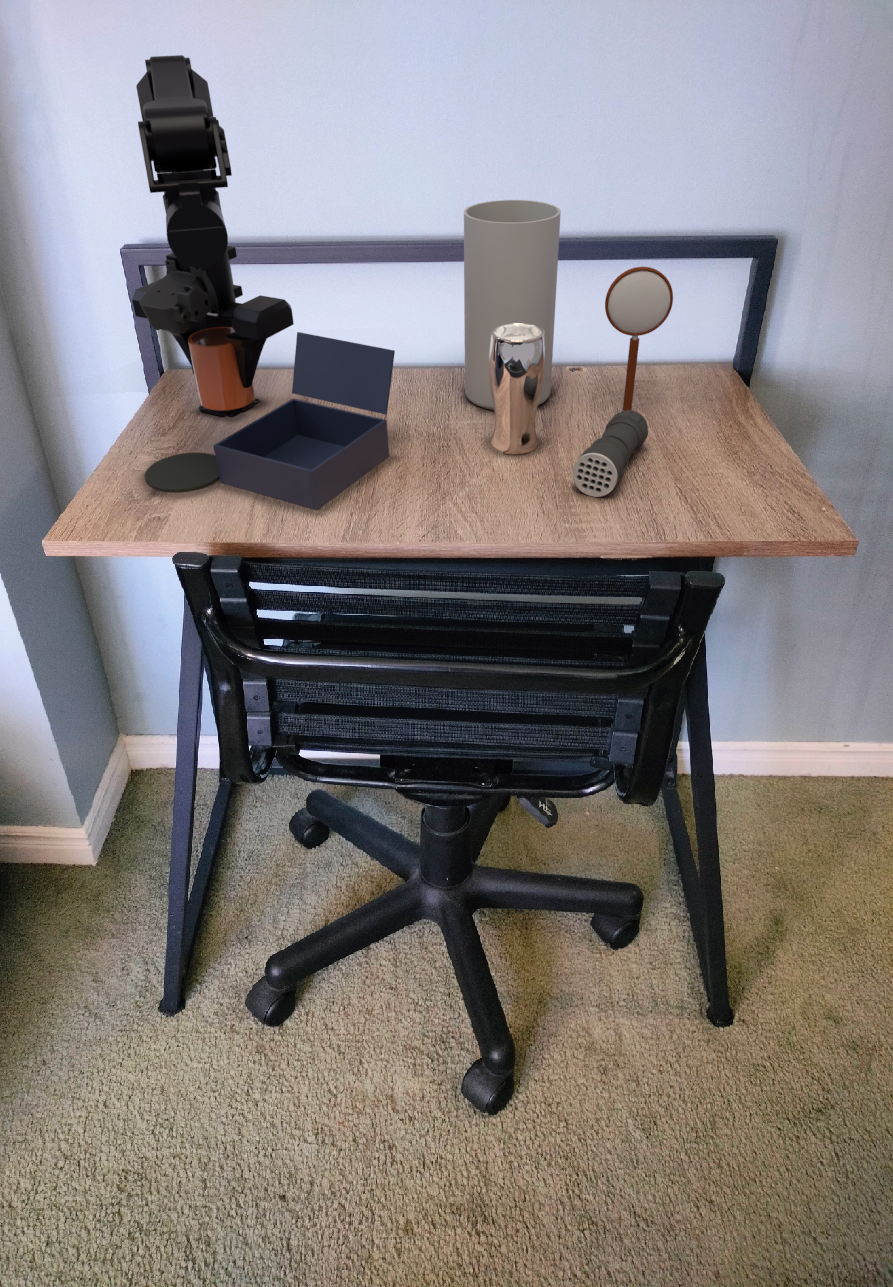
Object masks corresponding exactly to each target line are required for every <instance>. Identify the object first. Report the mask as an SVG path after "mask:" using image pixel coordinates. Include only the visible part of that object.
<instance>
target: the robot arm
mask: <svg viewBox="0 0 893 1287" xmlns="http://www.w3.org/2000/svg"><path fill="white" fill-rule="evenodd" d="M144 62H145V63H144V64H145V69H146V72H145V74H143V76H142V77H141V79H139V81H138V82H137V83H136V85H135V86H136V92H137V97H138V98H137V99H138V103H139V110H140V115H141V119H142V120H140V121H137V126H138V132H139V138H140V143H141V148H142V154H143V160H144V166H145V172H146V177H147V182H148V188H149V192H150V194H154V193H163V195H162V201H163V206H164V207H163V208H164V211H165V227H166V228H165V229H166V230H165V231H166V240H167V244H168V247H169V249H170V250H171V253H169V254H166V255H165V258H166V260H165V261H164V263H165V268H166V274H165V275H164V276H163V277H162V278H159V279H158V280H155V281H152V282H151V283H148V284H146V285H143V286H141V287H138V288H136V289H135V290H134V293H133V296H132V299H131V301H132V306H133V311H134V316H135V317H138V318H142V319H147V321H148V322H149V324H150V326H151V328H152V329H153V330H155V331H160V330H162V331H166V332H167V333H169V334H171V335H172V337H173V338H174V339H175V341H176V343H177V344H178V345H179V347H180V349H181V351H182V352H183V354H184V355H185V357H186V359H187V361H188V364H190V366H191V371H192V375H194V370H193V365H192V360H191V355H190V350H189V345H188V337H189V336H190V335H192V334H193V333H195V332H197V331H200V330H204V329H208V328H215V327H231V328H233V329H234V330H235V332H233V333H231V334H229V335H227V336H225V339H226V340H228V341H229V342H230V343H231V344H232V345H233V346H234V348H235V353H236V358H237V363H238V368H239V374H240V378H241V381H242V384H243V387H244V388H248V387H250V386H251V385H252V382H253V383H254V379H255V375H256V371H257V368H258V365H259V362H260V357H261V355H262V352H263V349H264V346H265V343H266V342H267V339H269V338H271V337H273V336H274V335H277V334H278V333H280V332H282V331H284V330H286V329H288V328H289V327H292V326H293V325H294V316H293V309H292V306H291V304H290V303H288V302H289V301H287V300H286V299H284V298H278V297H274V296H273V297H272V296H267V295H258V296H255V297H254V298H252V299H249V300H247V301H245V302H243V303H241V302H237V301H236V299H238V298H240V297H242V296H244V294H243V287H242V285H237V284H234V279H233V278H234V277H233V273H232V266H231V261H230V260H233V259H236V258H238V257H237V256H238V255H237V248H236V246H229V244H228V243H229V236H228V231H227V226H226V223H225V218H224V215H223V211H222V205H221V199H220V194H219V191H218V190H217V189H222V188H228V187H229V184H228V177H232V176H233V175H232V174H233V173H232V166H231V161H230V156H229V150H228V145H227V138H226V133H225V129H224V128H223V127H222V126H221V125H220V121H219V119H217V116H214V111H213V106H212V98H211V93H210V88H209V84H208V81H207V80H206V79H205V78H204V77H203V76H201V75H200V74H198V73H197V72H196V71H195V70H194V69H192V64H191V58H190V57H186V56H184V55H183V54H180V55H179V54H177V55H161V56H159V55H158V56H157V55H156V56H155V55H154V56H150V57H149V59H144ZM152 163H153V164H152ZM217 164H218V166H217ZM217 167H218V170H219V175H218V174H217V170H216V168H217ZM153 168H154V169H153ZM154 172H155V173H156V178H157V179H155V176H154ZM194 376H195V375H194ZM259 403H261V400H260V398H256V397H255V399H254V401H253V402H252V403H250V404H248V405H247V406H244V407H241V408H238V409H233V410H211V409H207V408H205V407H203V406H202V405H201V404H200V405H199V406H198V411H199V412H203V413H207V414H210V415H211V414H212V415H215V416H218V417H223V418H225V417H227V418H235V417H237V416H238V415H240V414H242V413H244V412H245V411H247V410H249V409H251V408H252V407H254V406H256V405H258V404H259Z"/></svg>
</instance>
